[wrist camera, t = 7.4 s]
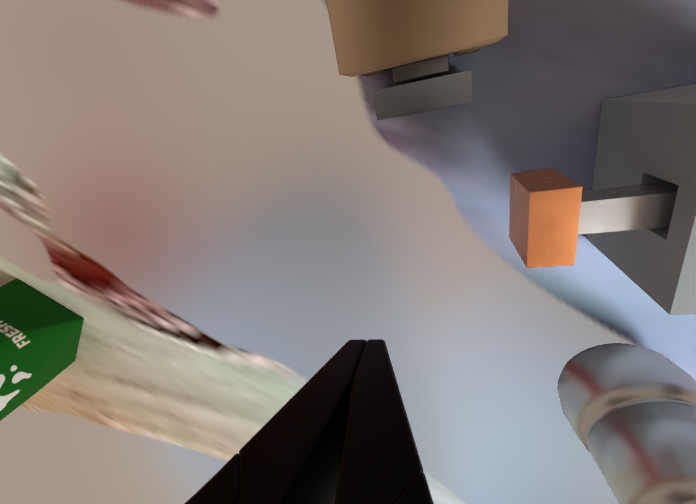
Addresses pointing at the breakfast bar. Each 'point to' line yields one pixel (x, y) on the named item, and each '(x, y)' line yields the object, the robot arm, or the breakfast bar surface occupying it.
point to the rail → (423, 89)
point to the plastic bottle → (634, 421)
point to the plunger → (578, 213)
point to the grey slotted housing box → (650, 167)
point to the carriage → (411, 31)
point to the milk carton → (32, 342)
